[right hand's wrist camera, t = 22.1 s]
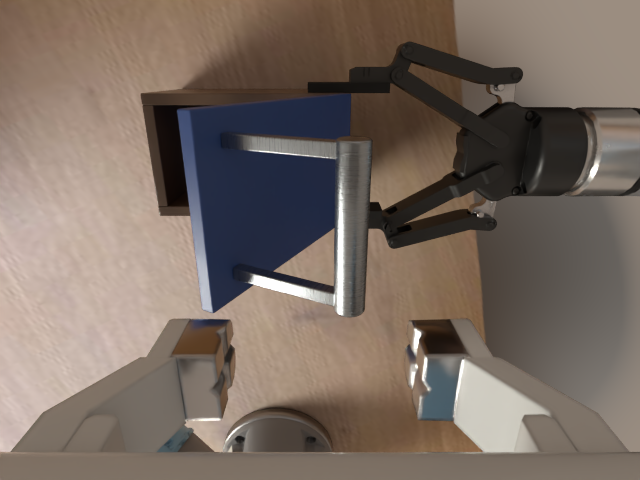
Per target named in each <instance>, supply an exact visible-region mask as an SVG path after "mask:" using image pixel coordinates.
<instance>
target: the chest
mask: <svg viewBox="0 0 640 480" xmlns="http://www.w3.org/2000/svg"><path fill="white" fill-rule="evenodd" d="M331 94H342V93H308V89H178V90H169V91H159V92H150V93H141V99H142V105H143V112H144V118H145V125H146V131H147V137H148V144H149V150H150V157H151V163H152V170H153V176H154V182H155V189H156V195H157V202H158V206H159V207H158V208H159V214H160V216H190V208H189V200H188V192H187V185H186V177H185V169H184V161H183V153H182V145H181V137H180V129H179V121H178V113H177V110H178V109H182V108H193V107H203V106H214V105H225V104H235V103H246V102H257V101H267V100H278V99H289V98H299V97H310V96H321V95H331ZM345 94H346V93H345Z"/></svg>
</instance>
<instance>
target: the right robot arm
mask: <svg viewBox="0 0 640 480" xmlns="http://www.w3.org/2000/svg"><path fill="white" fill-rule="evenodd" d="M232 337H233V327H232V322H231V320H224V319H171V320H169V321H168V323H167V325H166V326H165V328H164V329H163V331H162V333H161V334H160V336H159V338H158V339H157V341H156V342H155V344H154V346H153V347H152V349H151V350H150V352H149V354H148V355H147V357H140V358H138V359H137V360H135V361H133V362H131V363H129V364H128V365H126V366H124V367H122V368H121V369H119V370H117V371H115V372H114V373H112V374H110V375H108V376H107V377H105V378H103V379H101V380H100V381H98V382H96V383H94V384H93V385H91V386H89V387H87V388H85V389H84V390H82V391H80V392H78V393H77V394H75V395H73V396H71V397H70V398H68V399H66V400H64V401H63V402H61V403H59V404H57V405H56V406H54V407H52V408H50V409H49V410H47V411H45V412H43V413H42V414H41V416H40V417H39V418H38V419H37V420H36V422H35V423H34V424H33V425H32V426H31V428H30V429H29V430H28V431H27V433H26V434H25V435H24V436H23V437H22V439H21V440H20V441H19V442H18V443H17V445H16V446H15V447H14V448H13V450H12V451H11V452H0V480H640V452H629V451H628V449H627V448H626V447H625V446H624V445H623V443H622V442H621V441H620V440H619V439H618V437H617V436H616V435H615V434H614V432H613V431H612V430H611V429H610V427H609V426H608V425H607V424H606V423H605V421H604V420H603V419H602V418H601V417H600V415H599V414H598V413H596V412H595V411H593V410H591V409H589V408H588V407H586V406H584V405H582V404H581V403H579V402H577V401H575V400H574V399H572V398H570V397H568V396H567V395H565V394H563V393H561V392H560V391H558V390H556V389H554V388H553V387H551V386H549V385H547V384H546V383H544V382H542V381H540V380H539V379H537V378H535V377H533V376H532V375H530V374H528V373H526V372H525V371H523V370H521V369H519V368H518V367H516V366H514V365H512V364H510V363H509V362H507V361H505V360H503V359H502V358H500V357H493V355H492V354H491V352H490V351H489V349H488V347H487V346H486V344H485V343H484V341H483V339H482V338H481V336H480V335H479V333H478V331H477V330H476V328H475V327H474V325H473V324H472V322H471V320H469V319H467V318H466V319H441V320H409V322H408V326H407V337H408V340H409V343H410V344H409V345H408V346H407V347H406V348H405V374H406V379H407V383H408V386H409V387H410V388H411V389H413V394H412V401H413V404H414V408H415V411H416V415H417V418H418V420H434V421H454V423H455V424H456V425H457V426H458V427H459V428H460V429H461V430H462V431H463V432H464V433H465V434H466V435H467V436H468V437H469V438H470V439H471V440H472V441H473V442H474V443H475V444H476V445H477V446H478V447H479V448H480V449H481V450H482V451H483V452H157V451H158V450H159V449H160V448H161V447H162V446H163V445H164V444H165V443H166V442H167V441H168V440H169V439H170V438H171V437H172V436H173V435H174V434H175V433H176V432H177V431H178V430H179V429H180V428H181V427H182V426H183V425H184V424H186V421H206V420H222V418H223V415H224V411H225V408H226V404H227V401H228V394H227V389H229V388H230V387H231V386H232V383H233V379H234V373H235V348H234V347H233V346H232V345H231V344H230V343H231V340H232Z"/></svg>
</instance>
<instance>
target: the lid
mask: <svg viewBox="0 0 640 480" xmlns="http://www.w3.org/2000/svg"><path fill="white" fill-rule="evenodd" d="M177 113H178V121H179V129H180V137H181V145H182V153H183V161H184V169H185V177H186V185H187V192H188V200H189V208H190V216H191V224H192V232H193V240H194V248H195V256H196V264H197V272H198V280H199V288H200V296H201V303H202V309H203V310H205V311H208V312H211V313H215V312H216V311H218V310H219V309H220V308H222V307H223V306H225V305H226V304H227V303H229V302H230V301H232V300H233V299H234V298H236V297H237V296H239V295H240V294H242V293H243V292H244V291H246V290H247V289H249V288H250V287H251V286H253V285H256V286H260V287H264V288H267V289H271V290H275V291H279V292H282V293H286V294H290V295H293V296H297V297H301V298H305V299H308V300H312V301H316V302H319V303H323V304H327V305H330V306H334V310H335V312H336V313H337V314H338V315H340V316H344V317H357V316H359V315H361V314H362V313H363V312H364V310H365V293H366V271H367V249H368V227H369V206H370V184H371V162H372V139H371V138H368V137H362V136H350V114H351V94H345V93H342V94H331V95H321V96H310V97H299V98H289V99H278V100H267V101H257V102H246V103H235V104H225V105H214V106H203V107H193V108H182V109H178V110H177ZM333 228H335V239H334V286H330V285H326V284H322V283H318V282H314V281H309V280H305V279H301V278H297V277H293V276H289V275H285V274H281V273H277V272H273V271H274V270H275V269H277V268H278V267H280V266H281V265H282V264H284V263H285V262H287V261H288V260H290V259H291V258H292V257H294V256H295V255H297V254H298V253H299V252H301V251H302V250H304V249H305V248H307V247H308V246H309V245H311V244H312V243H314V242H315V241H316V240H318V239H319V238H321V237H322V236H323V235H325V234H326V233H328V232H329V231H331V230H332V229H333Z"/></svg>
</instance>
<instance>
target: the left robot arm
mask: <svg viewBox="0 0 640 480" xmlns="http://www.w3.org/2000/svg"><path fill="white" fill-rule="evenodd" d="M411 63H414V64H417V65H420V66H423V67H426V68H429V69H433V70H436V71H439V72H442V73H445V74H448V75H451V76H454V77H457V78H461V79H464V80H467V81H470V82H474V83H478V84H486V90H487V92H488V93H489V94H493V95H495V96H496V97H497V99H498V102H497V103H496V104H494V105H493V106H491V107H490V108H488V109H487V110H485V111H484V112H482V113H481V114H479V115H478V116H477V115H476V114H474V113H473V112H471V111H469V110H467V109H465V108H464V107H462V106H461V105H459V104H458V103H456V102H455V101H453V100H451V99H450V98H448V97H447V96H445V95H444V94H442V93H441V92H439V91H438V90H436V89H434V88H433V87H431V86H430V85H428V84H427V83H425V82H424V81H422V80H421V79H419V78H417V77H416V76H414V75H413V74H411V73H410V72H408V69H409V67H410V64H411ZM522 76H523V72H522V70H521V69H520V68H518V67H508V68H490V67H487V66H484V65H481V64H478V63H475V62H472V61H469V60H466V59H463V58H460V57H456V56H453V55H450V54H447V53H444V52H441V51H438V50H435V49H432V48H429V47H426V46H423V45H420V44H417V43H414V42H406V43H403V44H401V45H400V46H398V48H397V51H396V55H395V57H394V60H393V62H392V63H391V64H390V65H389V66H387V67H355V68H353V69H350V70H349V82H308V93H390V83H393V84H394V85H396V86H397V87H399V88H400V89H402V90H404V91H405V92H407V93H408V94H410V95H412V96H413V97H415V98H416V99H418V100H419V101H421V102H423V103H424V104H426V105H427V106H429V107H430V108H432V109H434V110H435V111H437V112H438V113H440V114H441V115H443V116H445V117H446V118H448V119H449V120H450V121H452V122H453V123H455V124H456V125H458V126H460V127H461V130H460V132H459V133H457V138H456V145H457V153H456V155H455V158H454V162H453V168H454V169H455V171H453V172H451V173H449V174H447V175H446V176H444V177H443V179H441V180H440V181H438V182H436V183H434V184H432V185H430V186H428V187H426V188H424V189H423V190H421V191H419V192H417V193H415V194H413V195H411V196H409V197H407V198H405V199H403V200H402V201H400V202H398V203H396V204H394V205H392V206H390V207H388V208H386V209H384V210H383V211H382V209H381V207H380V204H379V202H370V206H369V227H368V229H381V230H382V231H383V232H384V234H385V237H386V240H387V242H388V245H389V247H391V248H393V249H395V248H400V247H404V246H408V245H411V244H415V243H419V242H423V241H427V240H431V239H435V238H439V237H443V236H447V235H451V234H455V233H459V232H462V231H466V230H470V229H471V230H486V231H491V230H493V229H494V228H495V227H496V225H497V222H496V220H495V219H494V218H493V216H494V211H495V207H496V203H497V201H499V200H501V199H503V198H505V197H508V196H560V195H562V194H564V195H565V196H640V109H638V108H597V107H595V108H593V107H582V108H576V109H572V108H569V107H521V106H519V105H518V104H516V103H514V98H515V88H516V83H518V82H519V81H520V80H521V79H522ZM473 190H475V191H476V192H478V193H479V194H480V195H481V196H483V198H482V200H481V201H480V202H479V203H475V204H472V205H470V206H469V209H460V210H455V211H451V212H447V213H444V214H440V215H436V216H432V217H428V218H424V219H421V220H417V221H413V222H409V223H406V222H408V221H410V220H412V219H414V218H416V217H418V216H420V215H422V214H424V213H426V212H427V211H429V210H431V209H433V208H435V207H437V206H439V205H441V204H443V203H445V202H447V201H449V200H451V199H453V198H456V197H461V196H464V195H466V194H468V193H470V192H471V191H473ZM404 223H405V224H404ZM193 431H194V430H193V429H192V428H187V427H186V426H185V425H183V426H182V427H181V428H180V429H179V430H178V431H177V432H176V433H175V434H174V435H173V436H172V437H171V438H170V439H169V440H168V441H167V442H166V443H165V444H164V445H163V446H162V447H161V448H160V449H159V450H158V451H157V452H214V451H213V450H212V449H211V448H210V447H209V446H208V445H206V444H205V443H204V442H203V441H202V440H201V439H200V438H199V437H198V436H196V435H195V434H194V433H193ZM223 452H333V449H332V442H331V439H330V437H329V435H328V433H327V431H326V430H325V429H324V427H323V426H322V425H321V424H319V423H318V422H317V421H316V420H314V419H313V418H311V417H309V416H307V415H305V414H303V413H300V412H297V411H294V410H289V409H280V408H273V409H264V410H259V411H256V412H253V413H250V414H248V415H246V416H244V417H243V418H241V419H240V420H238V421H237V422H236V423H235V424H234V425H233V426H232V427H231V429H230V430H229V432H228V434H227V437H226V440H225V444H224V448H223Z"/></svg>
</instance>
